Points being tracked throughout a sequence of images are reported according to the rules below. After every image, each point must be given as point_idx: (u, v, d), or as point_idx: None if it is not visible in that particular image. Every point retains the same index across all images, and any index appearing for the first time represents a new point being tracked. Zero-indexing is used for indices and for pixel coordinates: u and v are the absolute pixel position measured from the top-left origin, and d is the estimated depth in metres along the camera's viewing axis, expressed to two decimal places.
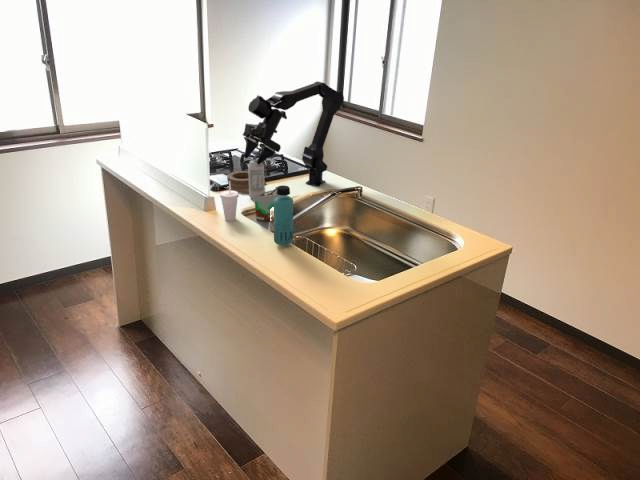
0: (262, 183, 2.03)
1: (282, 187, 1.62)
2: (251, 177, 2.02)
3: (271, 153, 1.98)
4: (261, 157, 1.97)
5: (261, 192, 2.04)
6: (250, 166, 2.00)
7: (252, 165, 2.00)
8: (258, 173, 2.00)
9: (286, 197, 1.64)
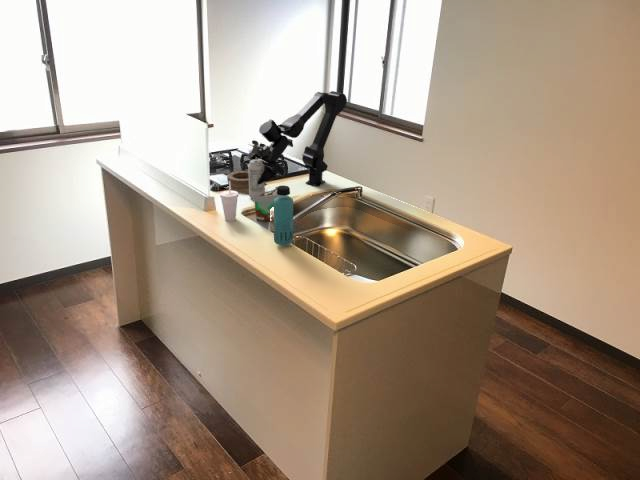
0: (262, 183, 2.03)
1: (282, 187, 1.62)
2: (251, 177, 2.02)
3: (272, 175, 2.02)
4: (262, 177, 2.01)
5: (261, 192, 2.04)
6: (250, 166, 2.00)
7: (252, 165, 2.00)
8: (258, 173, 2.01)
9: (286, 197, 1.64)
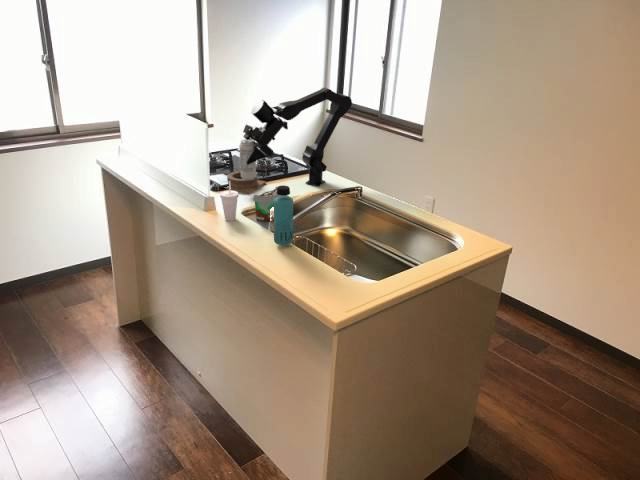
0: (252, 163, 2.05)
1: (282, 187, 1.62)
2: (241, 157, 2.04)
3: (262, 156, 2.03)
4: (251, 158, 2.03)
5: (251, 172, 2.06)
6: (240, 146, 2.03)
7: (242, 145, 2.02)
8: (247, 153, 2.02)
9: (286, 197, 1.64)
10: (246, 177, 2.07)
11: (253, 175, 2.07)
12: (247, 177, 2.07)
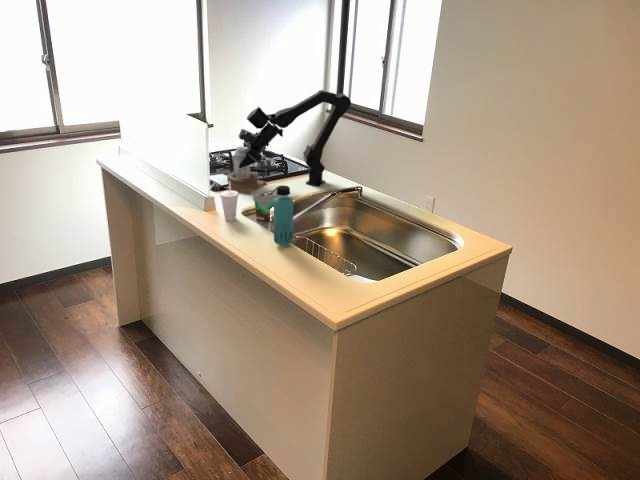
0: (245, 169, 2.14)
1: (282, 187, 1.62)
2: (235, 162, 2.14)
3: (253, 161, 2.09)
4: (243, 162, 2.10)
5: (243, 178, 2.15)
6: (235, 152, 2.13)
7: (236, 151, 2.12)
8: (240, 159, 2.12)
9: (286, 197, 1.64)
10: None
11: None
12: None
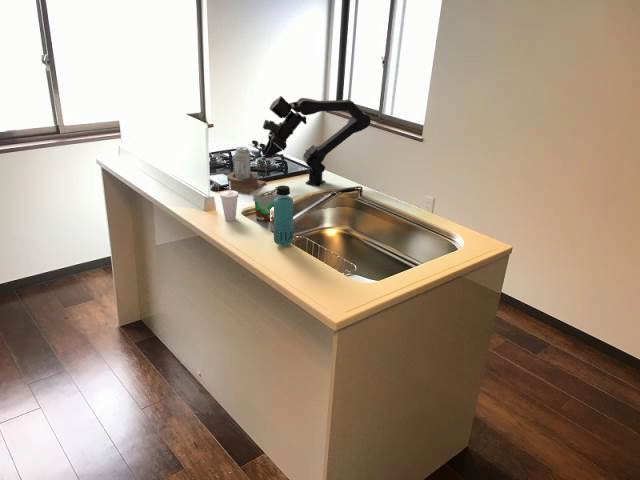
0: (245, 170, 2.14)
1: (282, 187, 1.62)
2: (235, 162, 2.14)
3: (278, 150, 2.08)
4: (268, 151, 2.08)
5: (243, 178, 2.15)
6: (235, 152, 2.12)
7: (236, 151, 2.12)
8: (240, 160, 2.12)
9: (286, 197, 1.64)
10: None
11: None
12: None
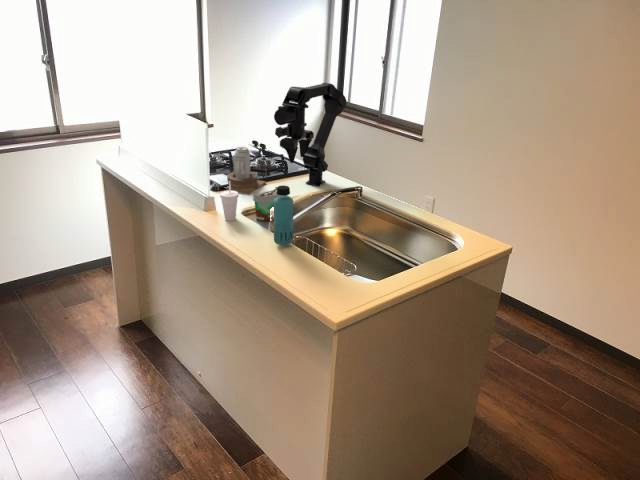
0: (245, 170, 2.14)
1: (282, 187, 1.62)
2: (235, 162, 2.14)
3: (294, 150, 2.02)
4: (289, 156, 2.05)
5: (243, 178, 2.15)
6: (235, 152, 2.12)
7: (236, 151, 2.12)
8: (240, 159, 2.12)
9: (286, 197, 1.64)
10: None
11: None
12: None
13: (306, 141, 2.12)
